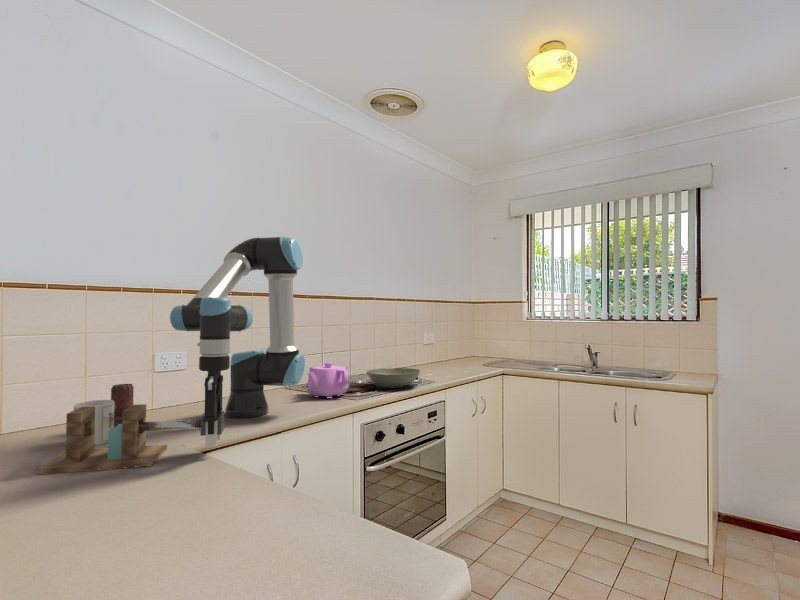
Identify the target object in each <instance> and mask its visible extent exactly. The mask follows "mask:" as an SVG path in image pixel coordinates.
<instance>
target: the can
mask: <svg viewBox="0 0 800 600" xmlns="http://www.w3.org/2000/svg"><path fill="white" fill-rule="evenodd" d="M134 392H135V391H134V385H133V383H120V384H119V383H118V384H114V385H112V387H111V389H110V400H113V401H115V409H114V427H116V426H117V425H119V424H122V411H124V410H126V409H127V408H129V407H131V406H132V405H134Z"/></svg>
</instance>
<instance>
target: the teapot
mask: <svg viewBox="0 0 800 600" xmlns="http://www.w3.org/2000/svg"><path fill="white" fill-rule="evenodd" d="M307 375H308V381H307V391H308V394H309V395H313V396H320V397H321V396H322V397H325V398H326V397H332V398H333V396H336V395H338V394H342V395H343V394H346V393H347V392H348V390H349V384H350V378H349V377H350V376H349V370H348V367H346V366H339V365H333V362H330V361H329V362H326V361H325V362H324V365H321V366H311V367H309V372H307Z"/></svg>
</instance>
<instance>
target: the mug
mask: <svg viewBox="0 0 800 600" xmlns="http://www.w3.org/2000/svg"><path fill="white" fill-rule="evenodd" d="M93 406H95V437H94V446H97V445H102V444H106V443H108V431H109V430H111V429H112V428H114V409H115V401H113V400H111V399H94V400H87V401H81V402H77V403H75V404H74V405H73V411H74V410H76V409H78V408H81V407H93Z"/></svg>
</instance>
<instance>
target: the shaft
mask: <svg viewBox="0 0 800 600" xmlns="http://www.w3.org/2000/svg"><path fill="white" fill-rule="evenodd" d="M204 417H205V411H204V412H203V413H202V415H200V419H199V418H197V419H196V418H194V419H178V420H177V419H175V420H159V421H146V422H138V432H146V433H147V432H163V431H179V430H180V431H181V430H194V429H195V430H197V429H198V430H199V429H200V436H201V437H203V436H204V437H206V422H203V419H204ZM217 420H218V423H217V435H222V434H223V433H224V431H225V410H222V411H217Z"/></svg>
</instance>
